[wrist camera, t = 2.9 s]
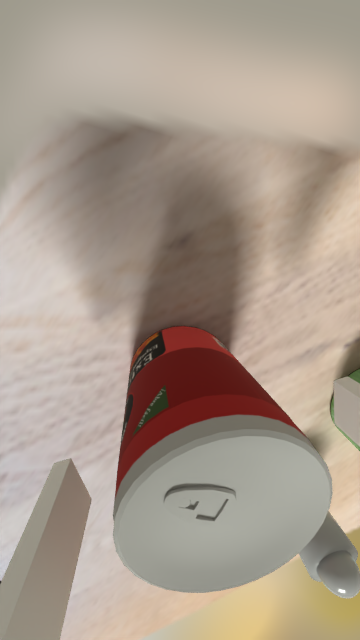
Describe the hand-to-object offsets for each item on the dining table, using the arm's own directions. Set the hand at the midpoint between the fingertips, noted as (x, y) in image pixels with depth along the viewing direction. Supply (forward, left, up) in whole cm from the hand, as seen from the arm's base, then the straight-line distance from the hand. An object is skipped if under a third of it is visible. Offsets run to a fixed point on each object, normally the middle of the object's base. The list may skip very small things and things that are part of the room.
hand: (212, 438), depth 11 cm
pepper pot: (+8, -18, -8) cm, 21 cm away
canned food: (0, 0, -8) cm, 8 cm away
